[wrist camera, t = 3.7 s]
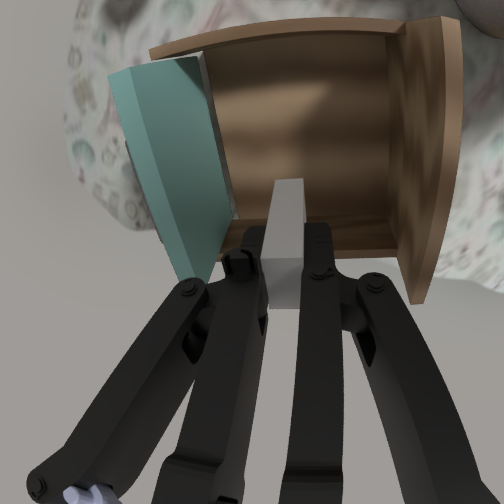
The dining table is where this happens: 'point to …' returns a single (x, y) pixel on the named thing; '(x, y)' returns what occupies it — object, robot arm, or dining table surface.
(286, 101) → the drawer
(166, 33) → the dining table surface
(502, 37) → the pillar candle
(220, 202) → the panel
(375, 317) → the robot arm
